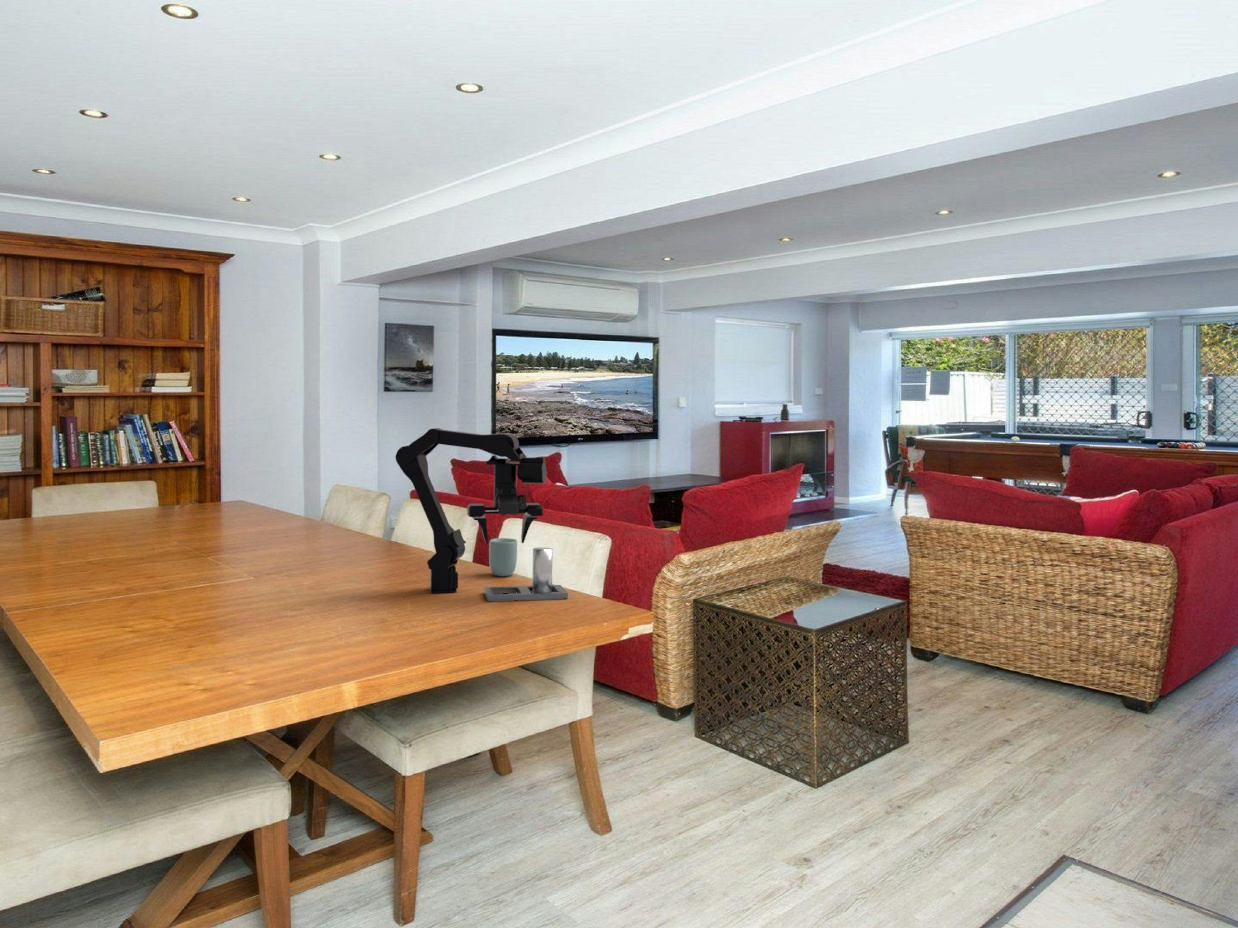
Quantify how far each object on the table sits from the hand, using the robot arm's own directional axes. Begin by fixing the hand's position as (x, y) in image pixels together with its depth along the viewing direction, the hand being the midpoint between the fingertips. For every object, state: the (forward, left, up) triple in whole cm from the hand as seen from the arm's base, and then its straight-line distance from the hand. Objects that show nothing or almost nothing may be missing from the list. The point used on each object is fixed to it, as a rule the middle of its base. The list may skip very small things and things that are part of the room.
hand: (504, 543), depth 229 cm
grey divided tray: (+5, -3, -13) cm, 14 cm away
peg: (+9, -3, -13) cm, 16 cm away
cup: (+3, +24, -13) cm, 28 cm away
